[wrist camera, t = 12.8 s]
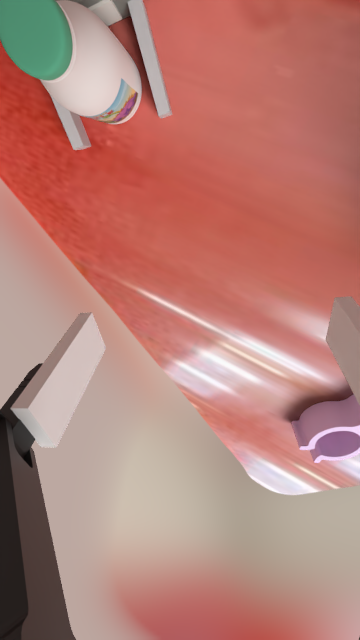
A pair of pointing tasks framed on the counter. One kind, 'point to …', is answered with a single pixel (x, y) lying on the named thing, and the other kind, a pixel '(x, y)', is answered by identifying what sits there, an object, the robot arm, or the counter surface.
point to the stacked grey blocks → (116, 4)
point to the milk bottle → (72, 57)
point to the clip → (330, 429)
